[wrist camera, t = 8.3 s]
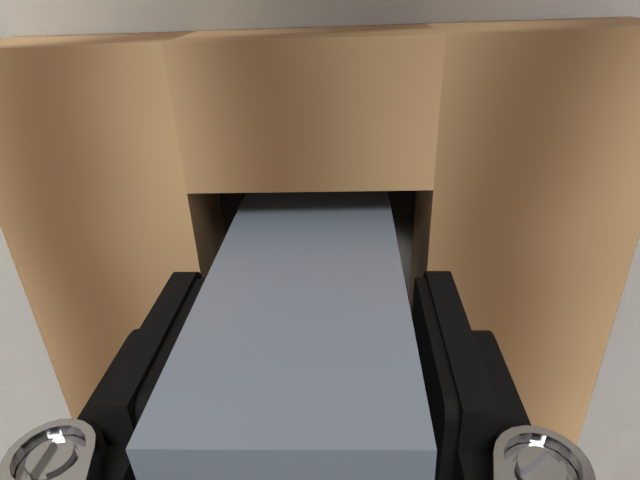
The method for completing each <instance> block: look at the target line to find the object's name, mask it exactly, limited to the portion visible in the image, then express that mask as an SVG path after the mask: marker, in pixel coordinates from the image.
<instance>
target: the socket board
mask: <svg viewBox="0 0 640 480" xmlns="http://www.w3.org/2000/svg"><path fill="white" fill-rule="evenodd" d="M346 191H416V196H415V213H414V229H413V246H412V263H411V279H410V296H409V305H410V311H411V316H412V306H413V290H414V279H415V278H416V277H423V274H424V271H451V273H452V276H453V279H454V282H455V284H456V287H457V290H458V293H459V296H460V299H461V301H462V304H463V307H464V310H465V313H466V315H467V318H468V321H469V324H470V327H471V330H490V331H491V332H492V333H493V334H494V336H495V338H496V341H497V343H498V346H499V348H500V350H501V353H502V355H503V358H504V360H505V363H506V365H507V367H508V370H509V372H510V375H511V377H512V379H513V382H514V384H515V387H516V389H517V392H518V394H519V396H520V399H521V401H522V404H523V406H524V409H525V411H526V413H527V416H528V418H529V421H530V423H531V425H532V426H539V427H543V428H546V429H549V430H553V431H555V432H557V433H559V434H560V435H562V436H564V437H566V438H568V439H569V440H570V441H571V442H573V443H574V444H575V445H576V446H577V442H578V439H579V436H580V432H581V429H582V426H583V422H584V419H585V416H586V412H587V409H588V406H589V402H590V399H591V396H592V392H593V389H594V385H595V382H596V379H597V375H598V372H599V369H600V365H601V362H602V359H603V355H604V352H605V349H606V345H607V342H608V339H609V335H610V332H611V329H612V325H613V322H614V319H615V315H616V312H617V309H618V305H619V302H620V299H621V295H622V292H623V289H624V285H625V282H626V279H627V275H628V272H629V269H630V265H631V262H632V259H633V255H634V252H635V249H636V245H637V242H638V238H639V235H640V18H636V17H605V18H575V19H545V20H515V21H484V22H454V23H424V24H394V25H364V26H333V27H303V28H273V29H243V30H213V31H182V32H152V33H122V34H92V35H62V36H31V37H11V38H5V39H0V226H1V229H2V231H3V234H4V237H5V239H6V242H7V245H8V247H9V250H10V253H11V255H12V258H13V261H14V264H15V266H16V269H17V272H18V274H19V277H20V280H21V282H22V285H23V288H24V290H25V293H26V296H27V298H28V301H29V304H30V306H31V309H32V312H33V315H34V317H35V320H36V323H37V325H38V328H39V331H40V333H41V336H42V339H43V341H44V344H45V347H46V349H47V352H48V355H49V358H50V360H51V363H52V366H53V368H54V371H55V374H56V376H57V379H58V382H59V384H60V387H61V390H62V392H63V395H64V398H65V400H66V403H67V406H68V409H69V411H70V414H71V417H72V418H74V419H77V418H78V416H79V414H80V413H81V411H82V409H83V408H84V406H85V405H86V403H87V401H88V400H89V398H90V397H91V395H92V393H93V392H94V390H95V388H96V387H97V385H98V384H99V382H100V380H101V379H102V377H103V375H104V374H105V372H106V371H107V369H108V367H109V366H110V364H111V363H112V361H113V359H114V358H115V356H116V354H117V353H118V351H119V350H120V348H121V346H122V345H123V343H124V341H125V340H126V338H127V337H128V335H129V334H130V333H131V332H132V331H133V330H135V329H139V328H140V327H141V325H142V323H143V321H144V320H145V318H146V316H147V315H148V313H149V311H150V310H151V308H152V306H153V305H154V303H155V301H156V300H157V298H158V296H159V295H160V293H161V291H162V290H163V288H164V286H165V285H166V283H167V281H168V280H169V278H170V276H171V275H172V274H173V272H200V273H201V275H202V278H206V277H207V275H208V272H209V270H210V268H211V266H212V264H213V262H214V260H215V258H216V255H217V253H218V251H219V249H220V247H221V245H222V243H223V240H224V238H225V236H226V234H225V227H224V220H223V213H222V205H221V198H220V193H271V192H346Z"/></svg>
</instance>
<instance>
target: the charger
mask: <svg viewBox="0 0 640 480" xmlns="http://www.w3.org/2000/svg"><path fill="white" fill-rule="evenodd" d="M126 452H127V455H128V458H129V461H130V464H131V467H132V469H133V472H134V475H135V478H136V480H435V469H436V457H437V448H436V442H435V437H434V432H433V427H432V421H431V416H430V411H429V405H428V400H427V395H426V390H425V384H424V379H423V374H422V369H421V363H420V358H419V353H418V347H417V342H416V337H415V332H414V326H413V321H412V316H411V311H410V305H409V300H408V295H407V289H406V284H405V279H404V274H403V268H402V263H401V258H400V253H399V247H398V242H397V237H396V231H395V226H394V221H393V216H392V210H391V205H390V200H389V195H388V191H346V192H271V193H246V194H245V196H244V198H243V200H242V202H241V204H240V206H239V209H238V211H237V213H236V215H235V217H234V219H233V221H232V223H231V226H230V228H229V230H228V232H227V234H226V236H225V238H224V240H223V243H222V245H221V247H220V249H219V251H218V253H217V255H216V258H215V260H214V262H213V264H212V266H211V268H210V270H209V272H208V275H207V277H206V279H205V281H204V283H203V285H202V287H201V289H200V292H199V294H198V296H197V298H196V300H195V302H194V304H193V307H192V309H191V311H190V313H189V315H188V317H187V319H186V321H185V324H184V326H183V328H182V330H181V332H180V334H179V336H178V339H177V341H176V343H175V345H174V347H173V349H172V351H171V353H170V356H169V358H168V360H167V362H166V364H165V366H164V368H163V370H162V373H161V375H160V377H159V379H158V381H157V383H156V385H155V388H154V390H153V392H152V394H151V396H150V398H149V400H148V402H147V405H146V407H145V409H144V411H143V413H142V415H141V417H140V419H139V422H138V424H137V426H136V428H135V430H134V432H133V434H132V437H131V439H130V441H129V443H128V445H127V447H126Z"/></svg>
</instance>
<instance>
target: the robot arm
mask: <svg viewBox="0 0 640 480" xmlns="http://www.w3.org/2000/svg"><path fill="white" fill-rule="evenodd" d="M205 279H206V278H202V275H201V273H200V272H173V274H172V275H171V276H170V278H169V280H168V281H167V283H166V285H165V286H164V288H163V290H162V291H161V293H160V295H159V296H158V298H157V300H156V301H155V303H154V305H153V306H152V308H151V310H150V311H149V313H148V315H147V316H146V318H145V320H144V321H143V323H142V325H141V327H140V328H139V329H135V330H133V331H132V332H131V333H130V334H129V335H128V337H127V338H126V340H125V341H124V343H123V345H122V346H121V348H120V350H119V351H118V353H117V354H116V356H115V358H114V359H113V361H112V363H111V364H110V366H109V367H108V369H107V371H106V372H105V374H104V375H103V377H102V379H101V380H100V382H99V384H98V385H97V387H96V388H95V390H94V392H93V393H92V395H91V397H90V398H89V400H88V401H87V403H86V405H85V406H84V408H83V409H82V411H81V413H80V414H79V416H78V418H77V419H74V418H72V419H59V420H55V421H51V422H48V423H45V424H43V425H41V426H39V427H36V428H34V429H32V430H31V431H29V432H28V433H27V434H25V435H24V436H22V437H21V438H19V439H18V440H17V441H16V442H15V443H14V444H13V445H12V446H11V447H10V448H9V449H8V451H7V453H6V454H5V456H4V457H3V459H2V460H1V463H0V480H136V478H135V475H134V472H133V469H132V467H131V464H130V461H129V458H128V455H127V452H126V447H127V445H128V443H129V441H130V439H131V437H132V434H133V432H134V430H135V428H136V426H137V424H138V422H139V419H140V417H141V415H142V413H143V411H144V409H145V407H146V405H147V402H148V400H149V398H150V396H151V394H152V392H153V390H154V388H155V385H156V383H157V381H158V379H159V377H160V375H161V373H162V370H163V368H164V366H165V364H166V362H167V360H168V358H169V356H170V353H171V351H172V349H173V347H174V345H175V343H176V341H177V339H178V336H179V334H180V332H181V330H182V328H183V326H184V324H185V321H186V319H187V317H188V315H189V313H190V311H191V309H192V307H193V304H194V302H195V300H196V298H197V296H198V294H199V292H200V289H201V287H202V285H203V283H204V281H205ZM412 321H413V326H414V332H415V337H416V342H417V347H418V353H419V358H420V363H421V369H422V374H423V379H424V384H425V390H426V395H427V400H428V405H429V411H430V416H431V421H432V427H433V432H434V437H435V442H436V448H437V457H436V469H435V480H596V478H595V474H594V471H593V468H592V466H591V464H590V461H589V459H588V458H587V457H586V456H585V454H584V453H583V452H582V450H581V449H580V448H579V447H578V446H576V445H575V444H574V443H573V442H571V441H570V440H569V439H568V438H566V437H564V436H562V435H560V434H559V433H557V432H555V431H553V430H549V429H546V428H543V427H539V426H532V425H531V423H530V421H529V418H528V416H527V413H526V411H525V409H524V406H523V404H522V401H521V399H520V396H519V394H518V392H517V389H516V387H515V384H514V382H513V379H512V377H511V375H510V372H509V370H508V367H507V365H506V363H505V360H504V358H503V355H502V353H501V350H500V348H499V346H498V343H497V341H496V338H495V336H494V334H493V333H492V332H491V331H490V330H471V327H470V324H469V321H468V318H467V315H466V313H465V310H464V307H463V304H462V301H461V299H460V296H459V293H458V290H457V287H456V284H455V282H454V279H453V276H452V273H451V271H424V274H423V277H416V278H415V279H414V290H413V306H412Z"/></svg>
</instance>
